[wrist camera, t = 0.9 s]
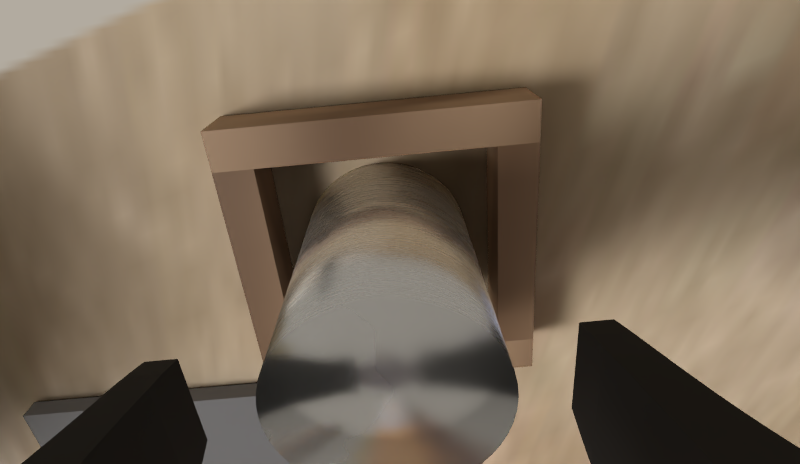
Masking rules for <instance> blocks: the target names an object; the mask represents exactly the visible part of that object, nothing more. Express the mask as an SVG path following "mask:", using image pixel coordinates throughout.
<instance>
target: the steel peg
mask: <svg viewBox="0 0 800 464" xmlns="http://www.w3.org/2000/svg"><path fill="white" fill-rule="evenodd" d="M518 397H519V396H518V383H517V379H516V375H515V371H514V368H513V365H512V362H511V359H510V356H509V353H508V350H507V347H506V344H505V341H504V338H503V335H502V332H501V329H500V326H499V323H498V320H497V317H496V314H495V311H494V308H493V305H492V302H491V299H490V296H489V293H488V290H487V287H486V284H485V281H484V278H483V275H482V272H481V269H480V266H479V263H478V260H477V257H476V254H475V251H474V248H473V245H472V242H471V239H470V236H469V233H468V230H467V227H466V224H465V221H464V218H463V215H462V212H461V210H460V208H459V205H458V203H457V201H456V200H455V198H454V196H453V195H452V194H451V192H450V191H449V190H448V189H447V188H446V187H445V186H444V185H443V184H442V183H441V182H440V181H439V180H437V179H436V178H434V177H433V176H432V175H430V174H428V173H426V172H424V171H422V170H420V169H417V168H414V167H412V166H408V165H403V164H396V163H378V164H371V165H366V166H363V167H360V168H357V169H354V170H352V171H350V172H348V173H346V174H344V175H343V176H341V177H339V178H338V179H337V180H336V181H334V182H333V183H332V184H331V185H330V186H329V187H328V188H327V189H326V190H325V191H324V193H323V194H322V195H321V197H320V198H319V200H318V202H317V204H316V206H315V207H314V210H313V213H312V216H311V219H310V222H309V225H308V228H307V231H306V234H305V237H304V240H303V244H302V247H301V250H300V253H299V256H298V259H297V262H296V265H295V268H294V271H293V274H292V277H291V280H290V283H289V286H288V289H287V292H286V295H285V298H284V301H283V304H282V307H281V311H280V314H279V317H278V320H277V323H276V326H275V329H274V332H273V335H272V338H271V341H270V344H269V347H268V350H267V353H266V356H265V359H264V362H263V365H262V368H261V371H260V374H259V378H258V381H257V388H256V409H257V414H258V418H259V421H260V424H261V426H262V429H263V431H264V433H265V435H266V436H267V438H268V440H269V441H270V443H271V444H272V445H273V447H274V448H275V449H276V450H277V452H278V453H279V454H280V455H281V456H282V457H283V458H284V459H286V460H287V461H288V462H289V463H290V464H482V463H483V462H484V461H485V460H486V459H487V458H488V457H490V456H491V455H492V454H493V453H494V452H495V450H496V449H497V448H498V447H499V446H500V445H501V443H502V442H503V440H504V439H505V437H506V436H507V434H508V433H509V431H510V428H511V426H512V424H513V422H514V419H515V415H516V412H517V406H518Z"/></svg>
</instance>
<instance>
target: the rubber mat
mask: <svg viewBox="0 0 800 464" xmlns="http://www.w3.org/2000/svg"><path fill="white" fill-rule="evenodd" d="M256 388H257V383H253V384H241V385H230V386H218V387H207V388H195V389H189V391H190V394H191V397H192V399H193V402H194V405H195V407H196V410H197V413H198V415H199V418H200V421H201V424H202V426H203V429H204V432H205V434H206V437H207V440H208V441H207V445H206V449H205V454H204V458H203V462H202V464H290V463H289V462H288V461H287V460H286V459H284V458H283V457H282V456H281V455H280V454H279V453H278V452H277V450H276V449H275V448H274V447H273V445H272V444H271V443H270V441H269V440H268V438H267V436H266V435H265V433H264V431H263V429H262V426H261V424H260V421H259V418H258V414H257V409H256ZM99 398H100V397H90V398H79V399H67V400H56V401H44V402H34V404H33V405H32V406H31V407H30V408H29V410H28V411H27V412H26V413H25V414H24V415H23V417H24V419H25V420H26V422H27V424H28V426H29V427H30V429H31V431H32V432H33V434H34V436H35V437H36V439H37V441H38V443H39V444H40V446H41V447H42V446H43V445H44V444H46V443H47V442H48V441H49V440H50V439H52V438H53V437H54V436H55V435H56V434H58V433H59V432H60V431H61V430H62V429H64V428H65V427H66V426H67V425H68V424H69V423H71V422H72V421H73V420H74V419H75V418H77V417H78V416H79V415H80V414H81V413H83V412H84V411H85V410H86V409H87V408H88V407H90V406H91V405H92V404H93V403H94V402H95V401H97V400H98V399H99Z"/></svg>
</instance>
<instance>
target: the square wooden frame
mask: <svg viewBox="0 0 800 464" xmlns="http://www.w3.org/2000/svg"><path fill="white" fill-rule="evenodd" d="M541 114H542V99H541V98H540V97H538V96H537V95H535V94H534V93H533V92H531V91H530V90H528V89H527V88H526V87H523V88H513V89H502V90H492V91H481V92H471V93H460V94H450V95H439V96H429V97H418V98H408V99H398V100H387V101H377V102H366V103H356V104H345V105H335V106H324V107H314V108H303V109H293V110H283V111H272V112H262V113H251V114H241V115H230V116H220V117H219V118H218V119H216V120H215V121H214V122H213V123H211V124H210V125H209V126H207V127H206V128H205V129H203V130H202V131H201V135H202V139H203V142H204V146H205V150H206V153H207V157H208V161H209V164H210V168H211V172H212V176H213V179H214V183H215V187H216V190H217V194H218V198H219V201H220V205H221V209H222V212H223V216H224V220H225V223H226V227H227V231H228V234H229V238H230V242H231V245H232V249H233V253H234V256H235V260H236V264H237V267H238V271H239V275H240V278H241V282H242V286H243V289H244V293H245V297H246V300H247V304H248V308H249V311H250V315H251V319H252V322H253V326H254V330H255V333H256V337H257V341H258V344H259V348H260V352H261V355H262V359H263V362H264V359H265V356H266V353H267V350H268V347H269V344H270V341H271V338H272V335H273V332H274V329H275V326H276V323H277V320H278V317H279V314H280V311H281V307H282V304H283V301H284V298H285V295H286V292H287V289H288V286H289V283H290V280H291V277H292V274H293V268H292V263H291V259H290V254H289V249H288V245H287V240H286V236H285V231H284V226H283V222H282V217H281V212H280V208H279V203H278V198H277V194H276V189H275V184H274V180H273V175H272V170H271V167H282V166H293V165H303V164H314V163H325V162H335V161H346V160H357V159H367V158H378V157H389V156H399V155H410V154H421V153H431V152H442V151H453V150H463V149H474V148H485V147H487V230H488V293H489V296H490V299H491V302H492V305H493V308H494V311H495V314H496V317H497V320H498V323H499V326H500V329H501V332H502V335H503V338H504V341H505V344H506V347H507V350H508V353H509V356H510V359H511V362H512V365H513V368H514V367H525V366H532V351H533V325H534V299H535V272H536V246H537V219H538V193H539V167H540V140H541Z"/></svg>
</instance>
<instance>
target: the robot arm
mask: <svg viewBox="0 0 800 464" xmlns="http://www.w3.org/2000/svg"><path fill="white" fill-rule="evenodd" d="M572 410H573V413H574V416H575V419H576V422H577V425H578V428H579V431H580V434H581V437H582V440H583V443H584V446H585V449H586V452H587V454H588V457H589V460H590V463H591V464H800V448H798V447H797V446H795V445H794V444H792V443H791V442H789V441H787V440H786V439H784V438H783V437H781V436H780V435H778V434H776V433H775V432H773V431H772V430H770V429H769V428H767V427H765V426H764V425H762V424H761V423H759V422H758V421H756V420H755V419H753V418H752V417H750V416H749V415H747V414H746V413H744V412H743V411H741V410H740V409H738V408H737V407H735V406H734V405H733V404H731V403H730V402H728V401H727V400H725V399H724V398H722V397H721V396H719V395H718V394H717V393H715V392H714V391H712V390H711V389H710V388H708V387H707V386H705V385H704V384H702V383H701V382H700V381H698V380H697V379H695V378H694V377H693V376H691V375H690V374H688V373H687V372H686V371H684V370H683V369H682V368H680V367H679V366H677V365H676V364H675V363H673V362H672V361H671V360H669V359H668V358H666V357H665V356H664V355H662V354H661V353H660V352H658V351H657V350H656V349H654V348H653V347H652V346H650V345H649V344H647V343H646V342H645V341H643V340H642V339H641V338H639V337H638V336H637V335H635V334H634V333H632V332H631V331H630V330H628V329H627V328H626V327H624V326H623V325H621V324H620V323H618V322H617V321H615V320H614V319H613V320H602V321H591V322H580V323H579V333H578V344H577V355H576V367H575V378H574V389H573V400H572ZM207 441H208V440H207V437H206V434H205V432H204V429H203V426H202V424H201V421H200V418H199V415H198V413H197V410H196V407H195V405H194V402H193V399H192V397H191V394H190V391H189V388H188V386H187V383H186V380H185V378H184V375H183V372H182V370H181V367H180V364H179V361H178V359H173V360H162V361H151V362H144V363H142V364H141V365H140V366H138V367H137V368H136V369H134V370H133V371H132V372H130V373H129V374H128V375H127V376H125V377H124V378H123V379H122V380H121V381H119V382H118V383H117V384H116V385H115V386H113V387H112V388H111V389H110V390H109V391H107V392H106V393H105V394H104V395H103V396H101V397H100V398H99V399H98V400H97V401H95V402H94V403H93V404H92V405H91V406H90V407H88V408H87V409H86V410H85V411H84V412H83V413H81V414H80V415H79V416H78V417H77V418H75V419H74V420H73V421H72V422H71V423H69V424H68V425H67V426H66V427H65V428H64V429H62V430H61V431H60V432H59V433H58V434H56V435H55V436H54V437H53V438H52V439H50V440H49V441H48V442H47V443H46V444H44V445H43V446H42V447H41V448H40V449H39V450H37V451H36V452H35V453H34V454H33V455H31V456H30V457H29V458H28V459H27V460H25V461H24V462H23V463H22V464H202V462H203V458H204V454H205V449H206V445H207Z"/></svg>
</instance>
